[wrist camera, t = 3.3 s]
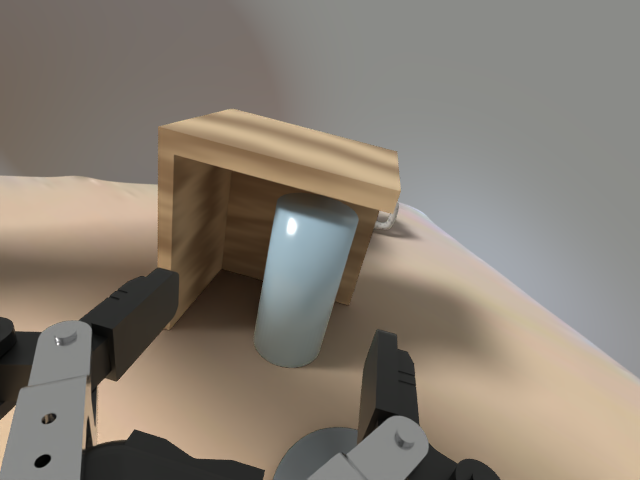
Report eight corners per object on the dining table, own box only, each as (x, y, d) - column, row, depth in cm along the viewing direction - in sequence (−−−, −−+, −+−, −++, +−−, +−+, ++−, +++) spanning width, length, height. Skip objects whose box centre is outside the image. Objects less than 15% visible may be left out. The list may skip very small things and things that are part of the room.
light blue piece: (313, 376, 27) (354, 238, 21) (242, 354, 27) (265, 213, 21) (330, 310, 34) (363, 194, 28) (274, 293, 34) (297, 176, 29)
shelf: (335, 380, 27) (400, 191, 20) (157, 326, 28) (158, 126, 21) (350, 298, 36) (397, 151, 29) (217, 260, 37) (232, 108, 30)
